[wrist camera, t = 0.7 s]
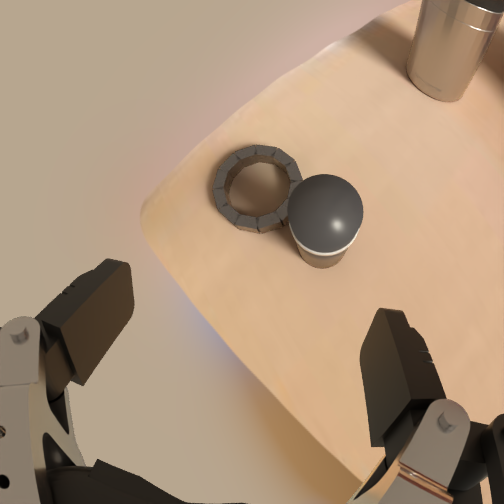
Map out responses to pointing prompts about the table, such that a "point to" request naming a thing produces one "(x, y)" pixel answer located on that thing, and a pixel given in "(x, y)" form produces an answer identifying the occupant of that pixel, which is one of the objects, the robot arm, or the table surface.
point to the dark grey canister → (324, 218)
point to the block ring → (235, 166)
